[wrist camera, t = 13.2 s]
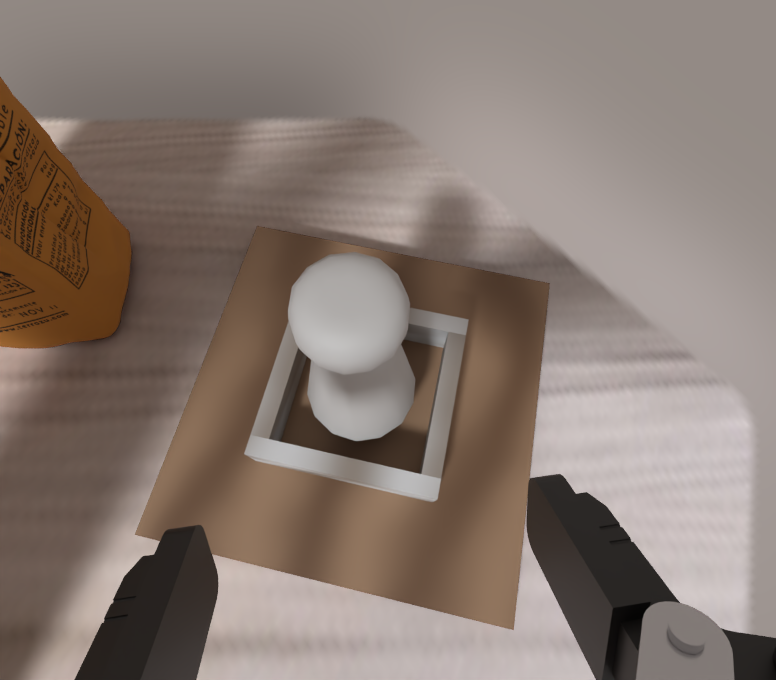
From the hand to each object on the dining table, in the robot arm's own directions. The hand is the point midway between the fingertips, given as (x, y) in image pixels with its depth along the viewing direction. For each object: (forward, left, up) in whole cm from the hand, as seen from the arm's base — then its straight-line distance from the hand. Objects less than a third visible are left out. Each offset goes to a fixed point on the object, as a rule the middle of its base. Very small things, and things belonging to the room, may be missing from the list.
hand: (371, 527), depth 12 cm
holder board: (-2, +7, -16) cm, 18 cm away
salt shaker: (-2, +7, -15) cm, 16 cm away
